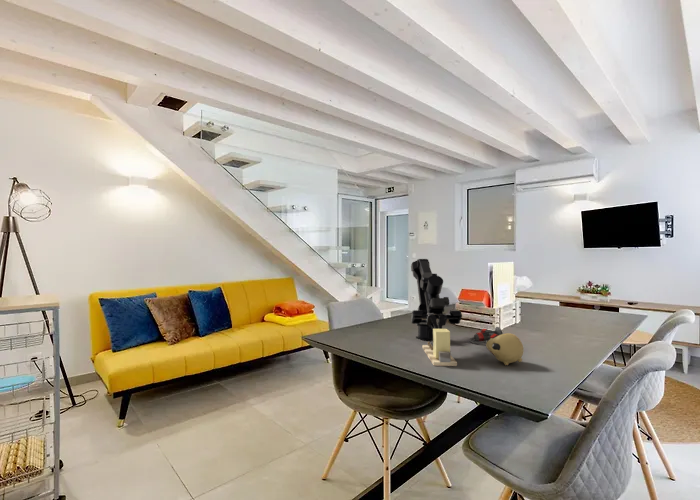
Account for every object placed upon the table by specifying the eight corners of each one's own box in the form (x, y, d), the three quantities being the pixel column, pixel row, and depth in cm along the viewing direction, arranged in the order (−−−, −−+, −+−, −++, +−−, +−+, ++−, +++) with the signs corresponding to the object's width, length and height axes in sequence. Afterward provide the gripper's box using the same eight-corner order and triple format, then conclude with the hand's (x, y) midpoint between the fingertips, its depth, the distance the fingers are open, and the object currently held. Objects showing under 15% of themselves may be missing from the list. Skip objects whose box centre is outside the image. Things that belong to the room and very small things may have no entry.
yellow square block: (433, 354, 126) (433, 328, 127) (446, 354, 126) (446, 328, 126) (436, 358, 121) (435, 331, 122) (450, 358, 121) (450, 331, 121)
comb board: (422, 347, 140) (422, 337, 140) (442, 347, 140) (441, 337, 140) (433, 365, 118) (433, 353, 118) (456, 365, 118) (456, 353, 118)
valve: (463, 341, 158) (495, 336, 158) (486, 362, 132) (524, 356, 132) (461, 328, 158) (493, 323, 158) (484, 346, 132) (522, 340, 132)
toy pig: (482, 358, 126) (482, 329, 126) (515, 358, 126) (515, 329, 126) (493, 367, 116) (493, 336, 116) (528, 367, 116) (528, 336, 116)
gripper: (412, 289, 132) (416, 323, 121) (460, 289, 132) (469, 324, 121) (409, 306, 140) (413, 340, 129) (455, 306, 140) (463, 340, 129)
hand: (439, 336), depth 127 cm, fingers closed, pressing on yellow square block
